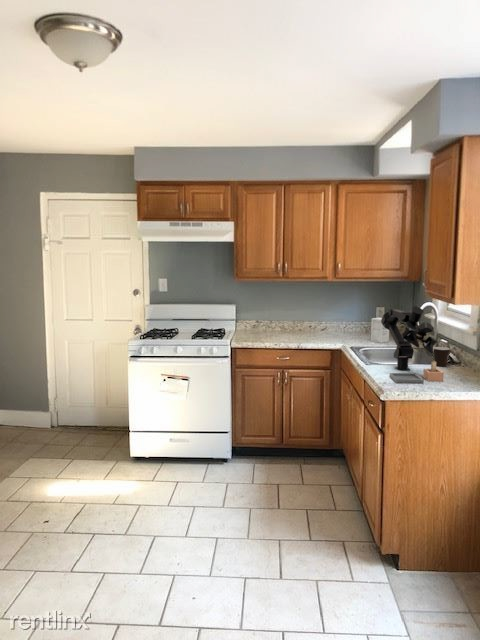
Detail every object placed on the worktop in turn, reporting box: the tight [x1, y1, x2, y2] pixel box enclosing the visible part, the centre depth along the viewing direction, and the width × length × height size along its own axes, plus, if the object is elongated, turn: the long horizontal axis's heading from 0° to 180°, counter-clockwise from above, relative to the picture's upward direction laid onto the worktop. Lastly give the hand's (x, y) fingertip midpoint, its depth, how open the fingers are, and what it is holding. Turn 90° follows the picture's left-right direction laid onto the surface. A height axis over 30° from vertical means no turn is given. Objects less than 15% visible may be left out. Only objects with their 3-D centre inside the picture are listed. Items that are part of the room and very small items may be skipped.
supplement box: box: [370, 317, 390, 344], centre depth 354 cm, size 10×9×17 cm
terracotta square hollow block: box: [422, 368, 445, 382], centre depth 248 cm, size 7×7×4 cm
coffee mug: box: [433, 346, 450, 368], centre depth 278 cm, size 12×9×10 cm
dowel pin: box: [430, 360, 437, 372], centre depth 247 cm, size 2×2×9 cm
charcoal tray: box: [389, 372, 425, 385], centre depth 246 cm, size 13×13×2 cm
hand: (425, 349), depth 243 cm, fingers open, 9 cm apart
